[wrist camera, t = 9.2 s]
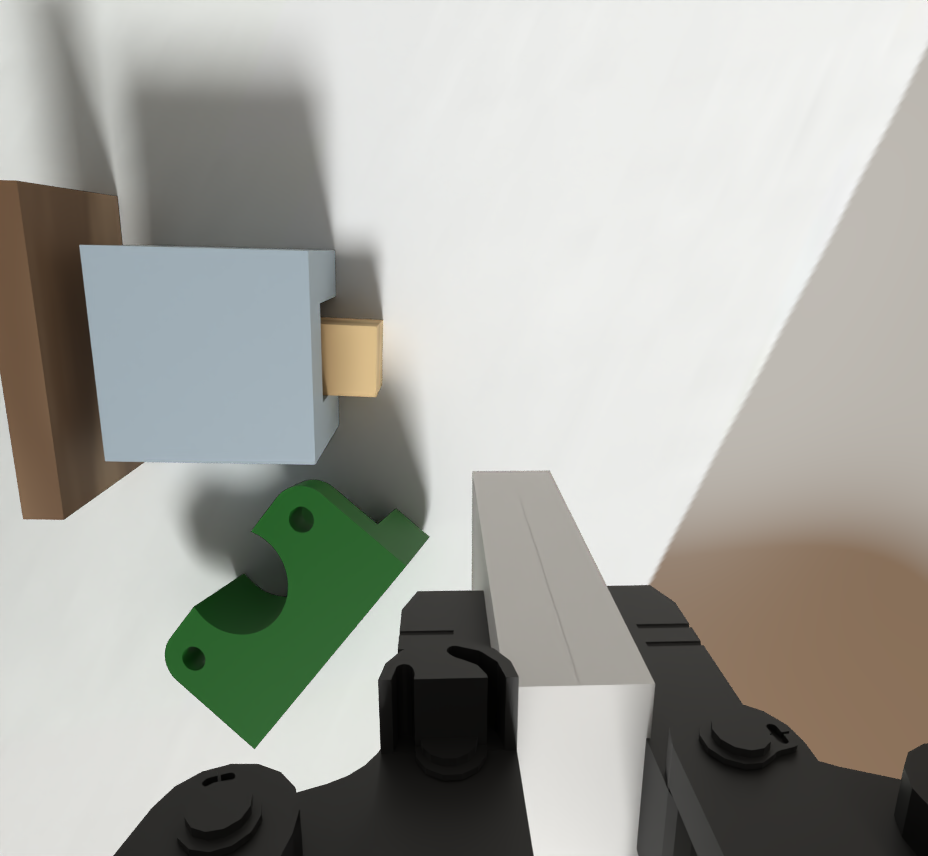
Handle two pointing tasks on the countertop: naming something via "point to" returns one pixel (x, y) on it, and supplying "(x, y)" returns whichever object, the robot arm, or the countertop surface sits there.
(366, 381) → the tan rectangular bar
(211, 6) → the countertop surface
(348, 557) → the clamp
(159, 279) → the block
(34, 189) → the wall
